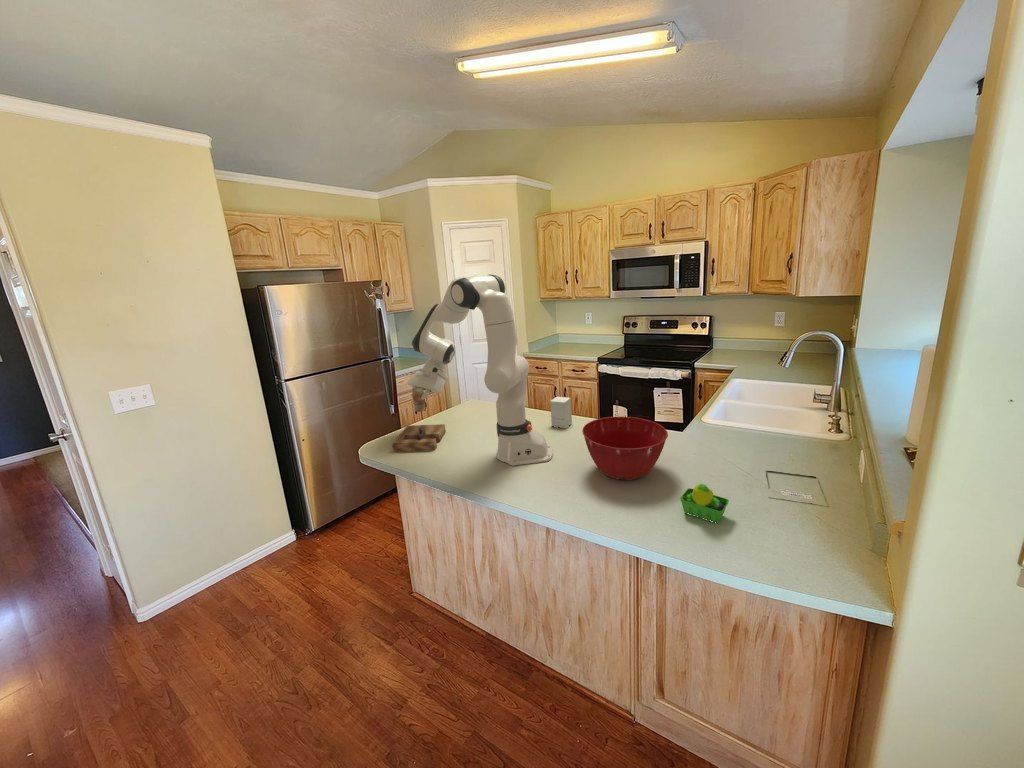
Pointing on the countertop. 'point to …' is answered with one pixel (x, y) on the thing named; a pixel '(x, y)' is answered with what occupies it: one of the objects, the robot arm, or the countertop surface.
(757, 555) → the countertop surface
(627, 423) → the mixing bowl
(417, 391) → the cord spool
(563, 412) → the supplement box
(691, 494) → the fruit basket
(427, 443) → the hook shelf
